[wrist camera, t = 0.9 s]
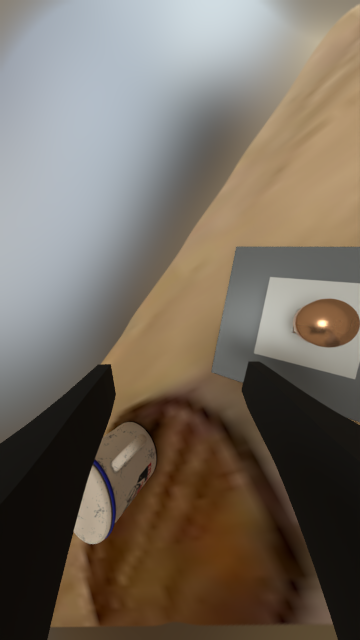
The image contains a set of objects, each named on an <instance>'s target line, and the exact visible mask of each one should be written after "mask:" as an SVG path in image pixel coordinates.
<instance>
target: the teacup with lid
mask: <svg viewBox="0 0 360 640" xmlns="http://www.w3.org/2000/svg"><path fill="white" fill-rule="evenodd" d="M155 466H156V450H155V446H154V443H153V441H152V439H151V437H150V435H149V434H148V433H147V431H146V430H145V429H144V428H143V427H141V426H140V425H138V424H136V423H134V422H126V423H123V424H121V425H120V426H118V427H117V428H116V429H114V430H113V431H111V432H110V433H108V434H107V435H106V436H104V437H103V438H102V441H101V444H100V446H99V449H98V452H97V454H96V457H95V460H94V463H93V465H92V468H91V471H90V474H89V477H88V480H87V484H86V488H85V491H84V495H83V498H82V502H81V505H80V509H79V513H78V516H77V520H76V524H75V528H74V533H75V534H76V535H77V536H78V537H79V538H80V539H81V540H83V541H84V542H86V543H89V544H96V543H99V542H101V541H103V540H104V539H105V538H107V537H108V536H109V534H110V533H111V531H112V529H113V527H114V524H115V523H116V521H117V520H118V519H119V517H120V516H121V515H122V513H123V512H124V511H125V509H126V508H127V507H128V505H129V504H130V503H131V501H132V500H133V499H134V497H135V496H136V495H137V493H138V492H139V491H140V489H141V488H142V487H143V485H144V484H145V483H146V481H147V480H148V479H149V477H150V476H151V475H152V473H153V472H154V469H155Z"/></svg>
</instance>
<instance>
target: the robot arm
mask: <svg viewBox="0 0 360 640" xmlns="http://www.w3.org/2000/svg"><path fill="white" fill-rule="evenodd" d="M242 393H243V396H244V399H245V401H246V404H247V407H248V409H249V411H250V414H251V416H252V418H253V420H254V422H255V424H256V426H257V428H258V430H259V432H260V434H261V436H262V438H263V440H264V442H265V444H266V446H267V448H268V450H269V452H270V454H271V456H272V458H273V460H274V462H275V464H276V467H277V469H278V471H279V474H280V476H281V479H282V481H283V484H284V486H285V489H286V491H287V494H288V496H289V499H290V501H291V504H292V507H293V509H294V512H295V515H296V517H297V520H298V523H299V525H300V528H301V531H302V533H303V536H304V539H305V542H306V545H307V548H308V550H309V553H310V556H311V559H312V562H313V564H314V567H315V570H316V573H317V576H318V579H319V582H320V585H321V588H322V591H323V594H324V597H325V600H326V603H327V606H328V609H329V612H330V615H331V619H332V622H333V625H334V628H335V631H336V635H337V637H338V640H360V425H358V424H357V423H355V422H353V421H351V420H350V419H348V418H346V417H344V416H342V415H341V414H339V413H337V412H336V411H334V410H332V409H331V408H329V407H327V406H326V405H324V404H323V403H321V402H319V401H318V400H316V399H315V398H313V397H311V396H310V395H308V394H307V393H305V392H304V391H302V390H301V389H299V388H298V387H296V386H295V385H293V384H292V383H291V382H289V381H288V380H286V379H285V378H283V377H282V376H280V375H279V374H278V373H276V372H275V371H273V370H272V369H270V368H269V367H267V366H266V365H264V364H263V363H261V362H260V361H251V362H248V365H247V369H246V374H245V378H244V382H243V386H242ZM115 395H116V393H115V387H114V381H113V375H112V369H111V364H105V365H97V366H96V367H95V368H94V369H93V370H92V371H90V372H89V373H88V374H87V375H86V376H85V377H84V378H83V379H82V380H80V381H79V382H78V383H77V384H76V385H75V386H74V387H72V388H71V389H70V390H69V391H68V392H67V393H66V394H64V395H63V396H62V397H61V398H60V399H58V400H57V401H56V402H55V403H54V404H52V405H51V406H50V407H49V408H47V409H46V410H45V411H44V412H42V413H41V414H40V415H39V416H37V417H36V418H35V419H34V420H32V421H31V422H30V423H28V424H27V425H26V426H24V427H23V428H21V429H20V430H19V431H17V432H16V433H15V434H13V435H12V436H10V437H9V438H8V439H6V440H5V441H3V442H2V443H0V640H47V638H48V634H49V630H50V625H51V621H52V617H53V612H54V608H55V604H56V599H57V595H58V591H59V587H60V583H61V579H62V575H63V571H64V567H65V563H66V559H67V555H68V551H69V547H70V543H71V539H72V535H73V532H74V528H75V524H76V520H77V516H78V513H79V509H80V505H81V502H82V498H83V495H84V491H85V488H86V484H87V480H88V477H89V474H90V471H91V468H92V465H93V463H94V460H95V457H96V454H97V452H98V449H99V446H100V444H101V441H102V438H103V435H104V433H105V430H106V427H107V424H108V421H109V419H110V416H111V412H112V408H113V404H114V400H115Z"/></svg>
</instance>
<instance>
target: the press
mask: <svg viewBox="0 0 360 640" xmlns="http://www.w3.org/2000/svg"><path fill="white" fill-rule="evenodd" d="M320 299H337V300H341V301H343V302H345V303H347V304H349V305H350V306H352V307H353V308H354V309H355V311H356V312H357V314H358V316H359V319H360V247H236V251H235V256H234V261H233V266H232V271H231V276H230V281H229V286H228V291H227V296H226V301H225V306H224V311H223V316H222V321H221V326H220V331H219V336H218V341H217V346H216V351H215V356H214V361H213V366H212V371H211V372H213V373H216V374H218V375H221V376H224V377H227V378H230V379H233V380H236V381H239V382H242V383H243V382H244V378H245V374H246V369H247V365H248V362H251V361H260V362H261V363H263V364H264V365H266V366H267V367H269V368H270V369H272V370H273V371H275V372H276V373H278V374H279V375H280V376H282V377H283V378H285V379H286V380H288V381H289V382H291V383H292V384H293V385H295V386H296V387H298V388H299V389H301V390H302V391H304V392H305V393H307V394H308V395H310V396H311V397H313V398H315V399H316V400H318V401H319V402H321V403H323V404H324V405H326V406H327V407H329V408H331V409H332V410H334V411H336V412H337V413H339V414H341V415H342V416H344V417H346V418H349V419H352V420H355V421H358V422H360V328H359V331H358V333H357V335H356V336H355V337H354V338H353V339H352V340H351V341H350V342H348V343H346V344H344V345H342V346H338V347H330V348H328V347H320V346H317V345H314V344H312V343H309V342H307V341H305V340H303V339H302V338H300V337H299V336H298V335H297V334H296V333H292V329H293V318H294V316H295V314H296V311H297V310H299V309H300V308H302V307H303V306H305V305H307V304H309V303H311V302H314V301H316V300H320Z"/></svg>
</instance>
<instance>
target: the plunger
mask: <svg viewBox="0 0 360 640" xmlns="http://www.w3.org/2000/svg"><path fill="white" fill-rule="evenodd" d="M359 328H360V319H359V316H358V314H357V312H356V311H355V309H354V308H353V307H352V306H350V305H349V304H347V303H345V302H343V301H341V300H337V299H320V300H316V301H314V302H311V303H309V304H307V305H305V306H303V307H302V308H300V309H299V310H297V311H296V314H295V316H294V318H293V329H292V333H296V334H297V335H298V336H299V337H300V338H302V339H303V340H305V341H307V342H309V343H312V344H314V345H317V346H320V347H328V348H330V347H338V346H342V345H344V344H346V343H348V342H350V341H351V340H352V339H353V338H354V337H355V336H356V335H357V333H358V331H359Z"/></svg>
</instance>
